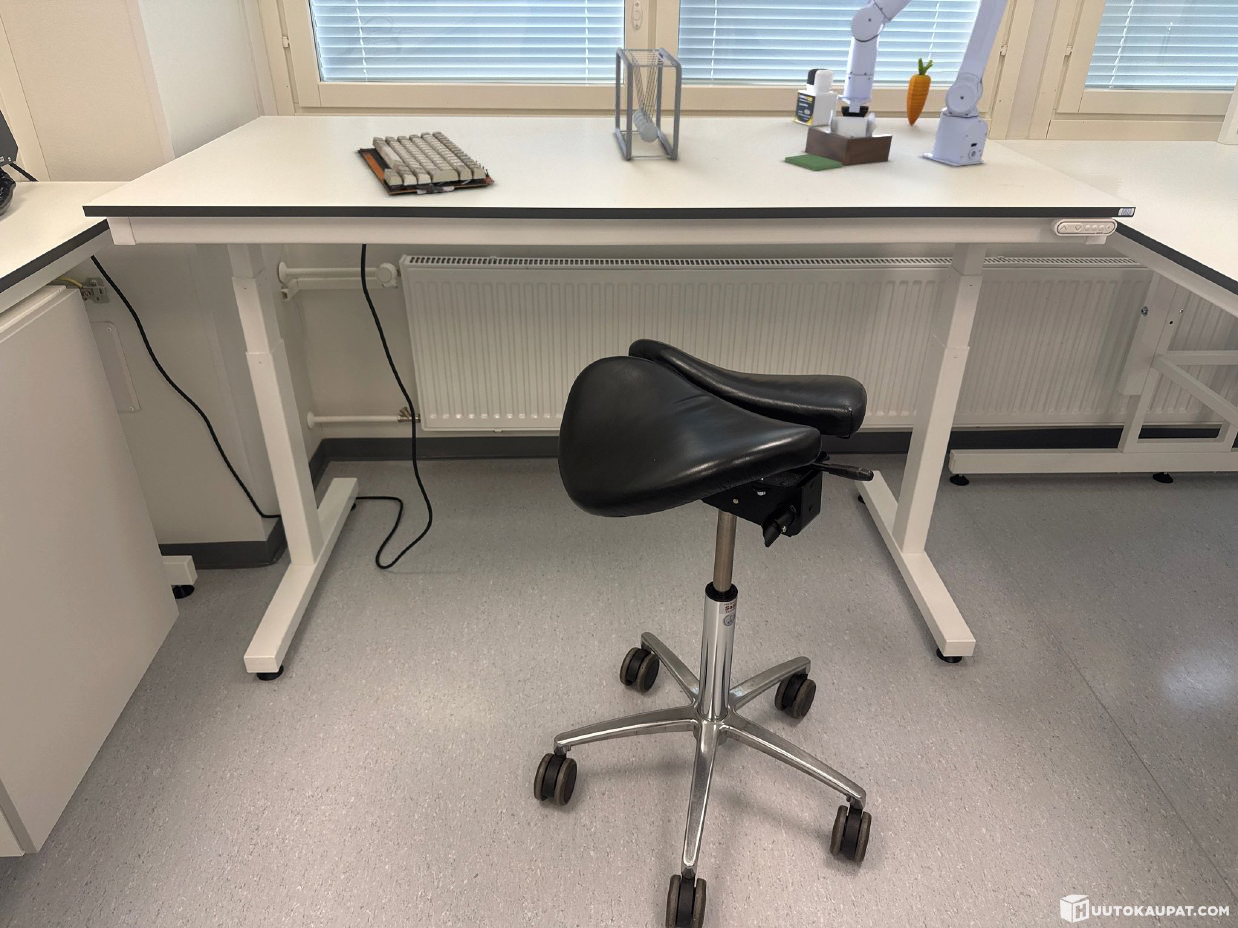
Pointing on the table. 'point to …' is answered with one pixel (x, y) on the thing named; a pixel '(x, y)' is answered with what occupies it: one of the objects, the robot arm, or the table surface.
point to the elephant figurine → (852, 125)
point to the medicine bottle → (817, 99)
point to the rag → (813, 162)
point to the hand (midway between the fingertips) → (849, 142)
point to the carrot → (918, 92)
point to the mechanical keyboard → (423, 164)
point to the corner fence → (848, 147)
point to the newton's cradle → (641, 116)
